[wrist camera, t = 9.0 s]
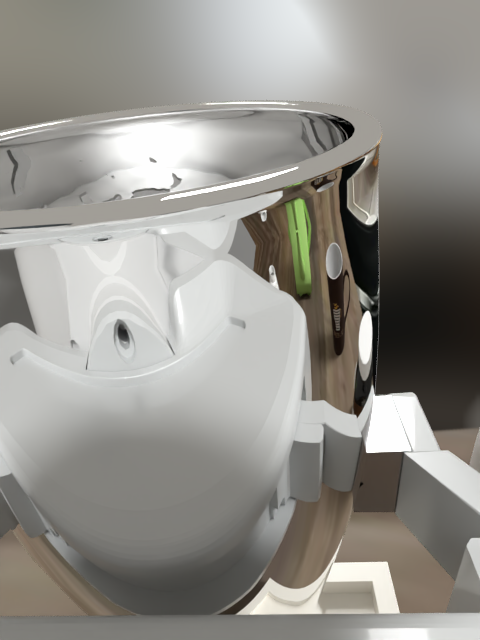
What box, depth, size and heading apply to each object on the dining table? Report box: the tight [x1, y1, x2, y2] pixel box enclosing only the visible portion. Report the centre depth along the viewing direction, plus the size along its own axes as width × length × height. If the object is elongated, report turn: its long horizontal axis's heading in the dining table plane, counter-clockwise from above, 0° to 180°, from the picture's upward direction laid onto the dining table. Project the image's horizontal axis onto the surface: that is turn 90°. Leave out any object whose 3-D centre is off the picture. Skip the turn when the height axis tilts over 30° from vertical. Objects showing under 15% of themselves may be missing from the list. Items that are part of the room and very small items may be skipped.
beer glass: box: [0, 101, 382, 616], centre depth 10 cm, size 7×7×15 cm
